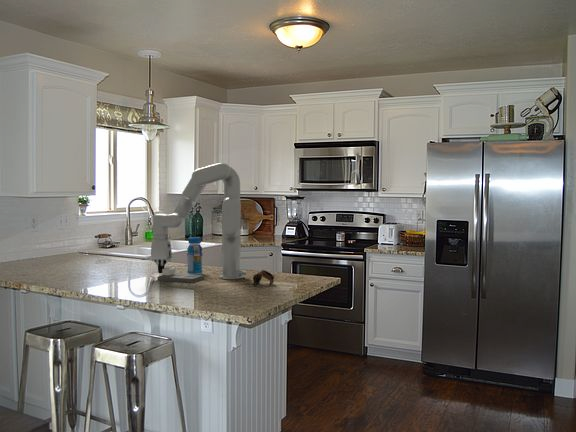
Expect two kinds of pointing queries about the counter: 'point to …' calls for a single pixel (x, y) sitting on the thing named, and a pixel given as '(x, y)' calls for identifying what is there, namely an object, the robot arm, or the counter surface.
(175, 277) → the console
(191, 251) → the blue lidded canister
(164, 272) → the fader knob
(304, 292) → the counter surface
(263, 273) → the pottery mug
